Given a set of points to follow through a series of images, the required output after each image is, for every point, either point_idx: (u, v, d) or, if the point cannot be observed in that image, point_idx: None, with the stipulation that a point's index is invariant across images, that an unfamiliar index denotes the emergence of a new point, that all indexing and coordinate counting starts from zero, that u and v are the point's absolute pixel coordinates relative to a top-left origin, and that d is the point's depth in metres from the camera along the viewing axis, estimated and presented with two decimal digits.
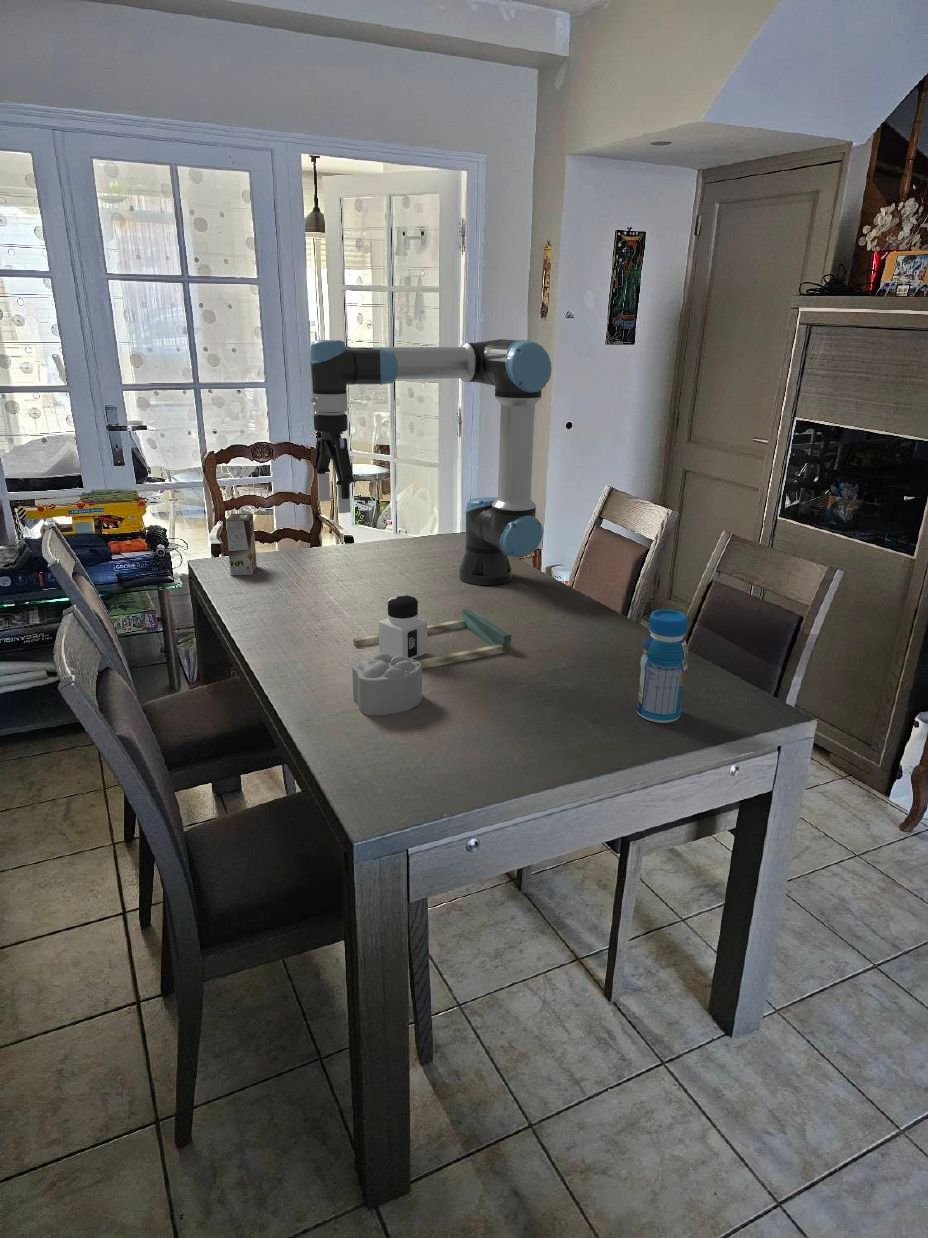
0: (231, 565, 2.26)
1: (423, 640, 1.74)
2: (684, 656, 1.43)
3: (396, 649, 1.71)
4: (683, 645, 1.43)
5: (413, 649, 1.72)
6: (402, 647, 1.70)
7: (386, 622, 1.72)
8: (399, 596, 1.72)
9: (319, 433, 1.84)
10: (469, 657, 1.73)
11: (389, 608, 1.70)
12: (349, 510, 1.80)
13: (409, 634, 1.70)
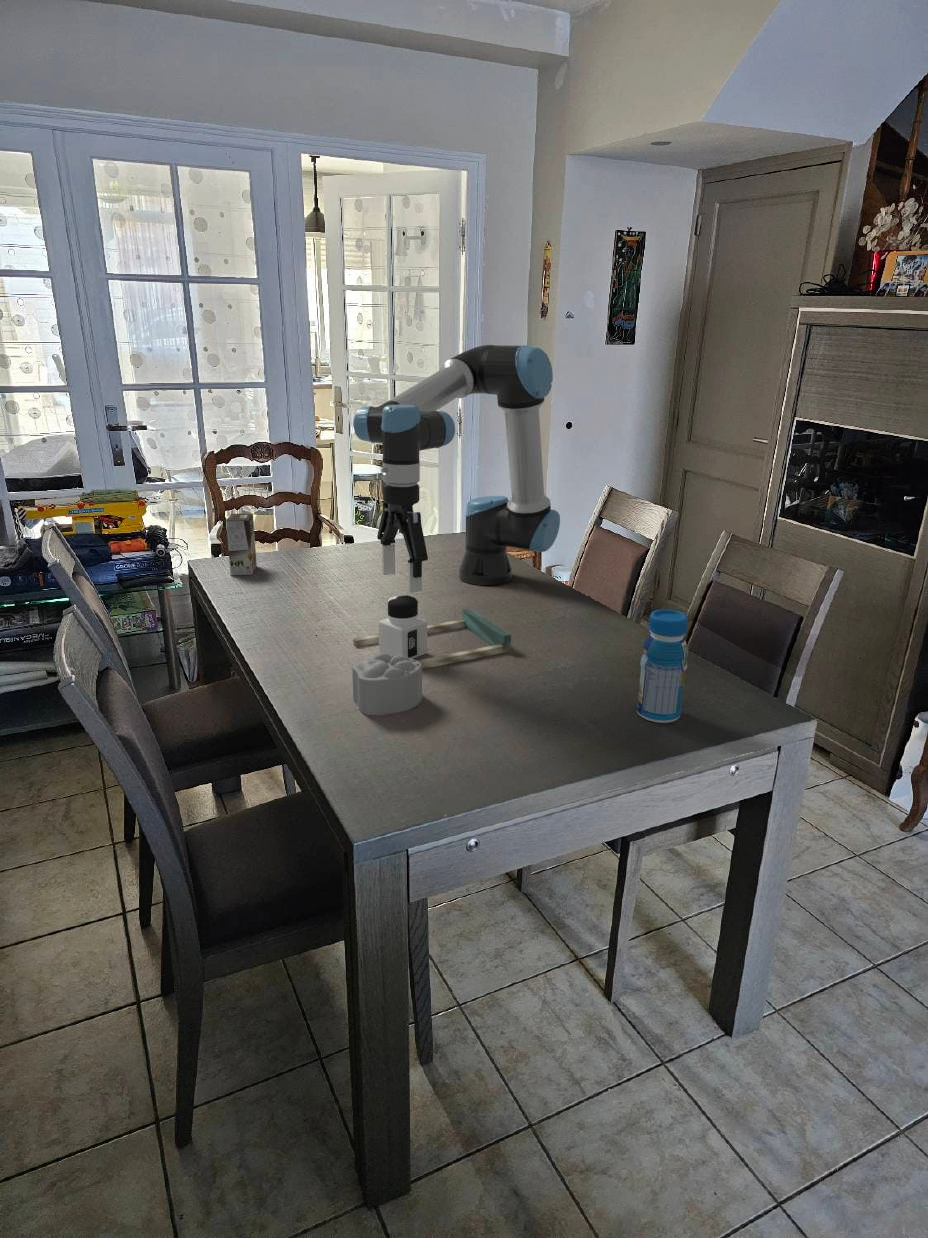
0: (231, 565, 2.26)
1: (423, 640, 1.74)
2: (684, 656, 1.43)
3: (396, 649, 1.71)
4: (683, 645, 1.43)
5: (413, 649, 1.72)
6: (402, 647, 1.70)
7: (386, 622, 1.72)
8: (399, 596, 1.72)
9: (386, 503, 1.69)
10: (469, 657, 1.73)
11: (389, 608, 1.70)
12: (420, 589, 1.64)
13: (409, 634, 1.70)
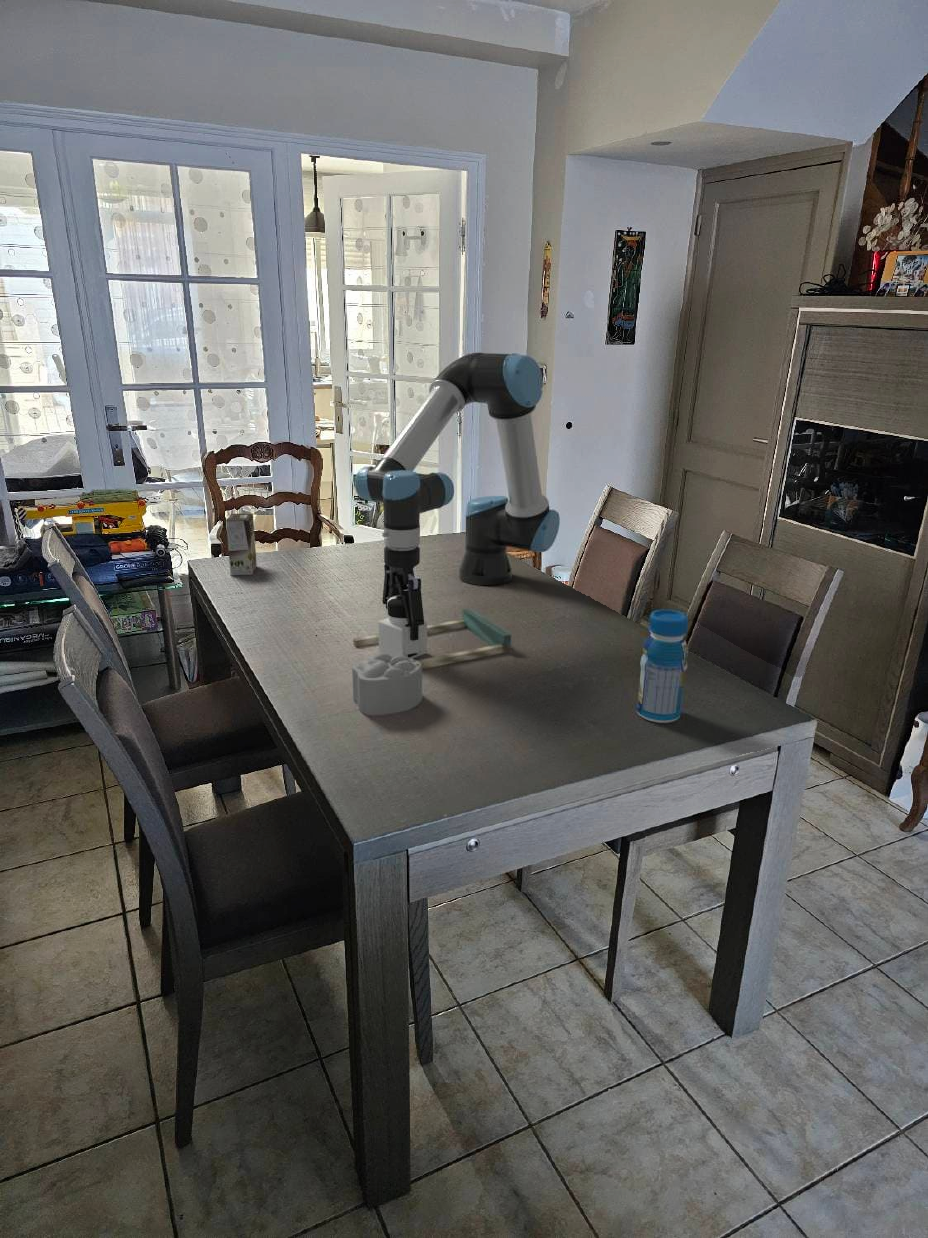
0: (231, 565, 2.26)
1: (423, 640, 1.74)
2: (684, 656, 1.43)
3: (396, 649, 1.71)
4: (683, 645, 1.43)
5: None
6: (402, 647, 1.70)
7: (386, 622, 1.72)
8: (399, 596, 1.72)
9: (387, 565, 1.74)
10: (469, 657, 1.73)
11: (389, 608, 1.70)
12: (417, 650, 1.71)
13: None
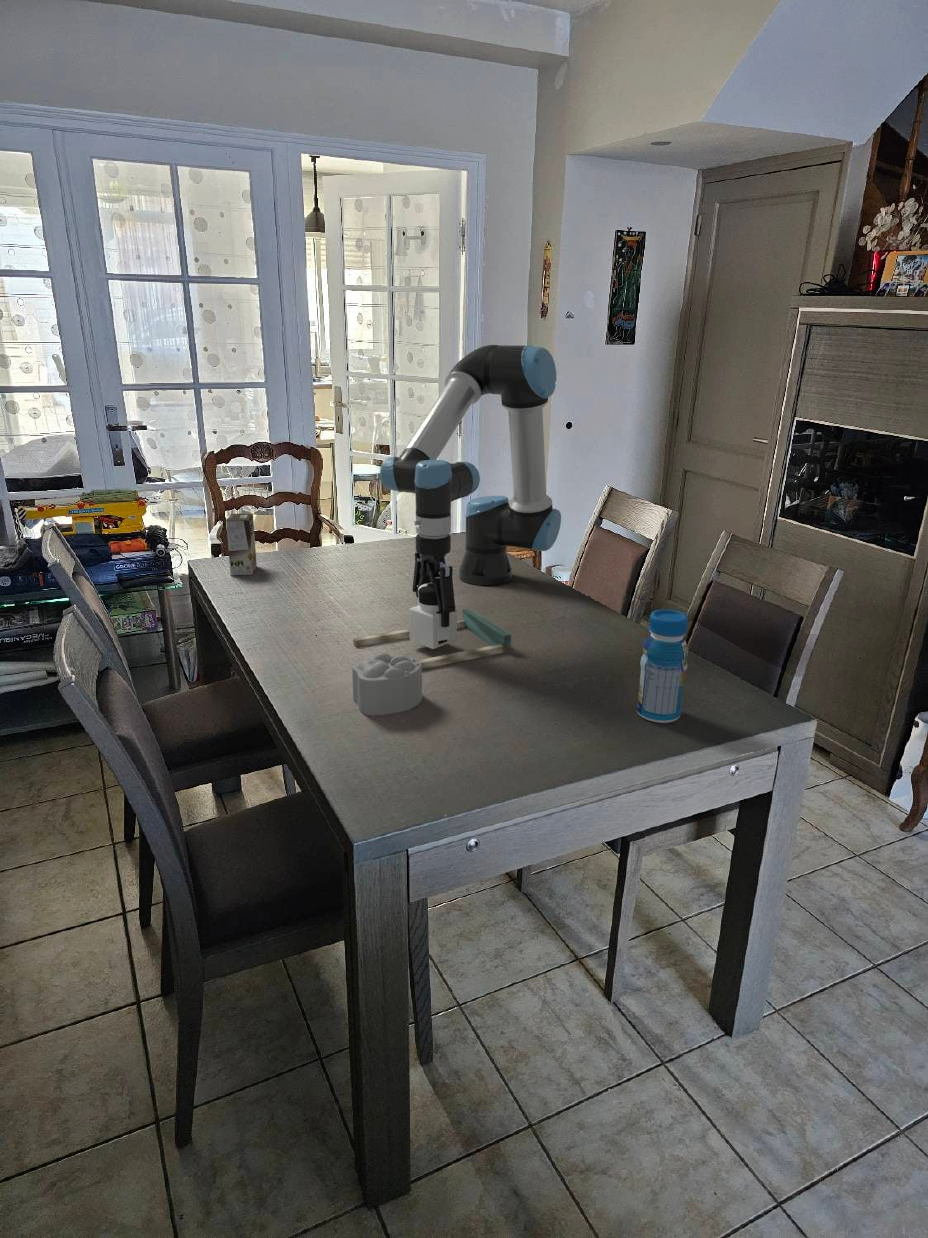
0: (231, 565, 2.26)
1: (453, 627, 1.77)
2: (684, 656, 1.43)
3: (427, 635, 1.74)
4: (683, 645, 1.43)
5: None
6: (433, 634, 1.73)
7: (416, 609, 1.75)
8: (430, 584, 1.75)
9: (418, 554, 1.77)
10: (469, 657, 1.73)
11: (420, 595, 1.73)
12: (448, 637, 1.74)
13: None
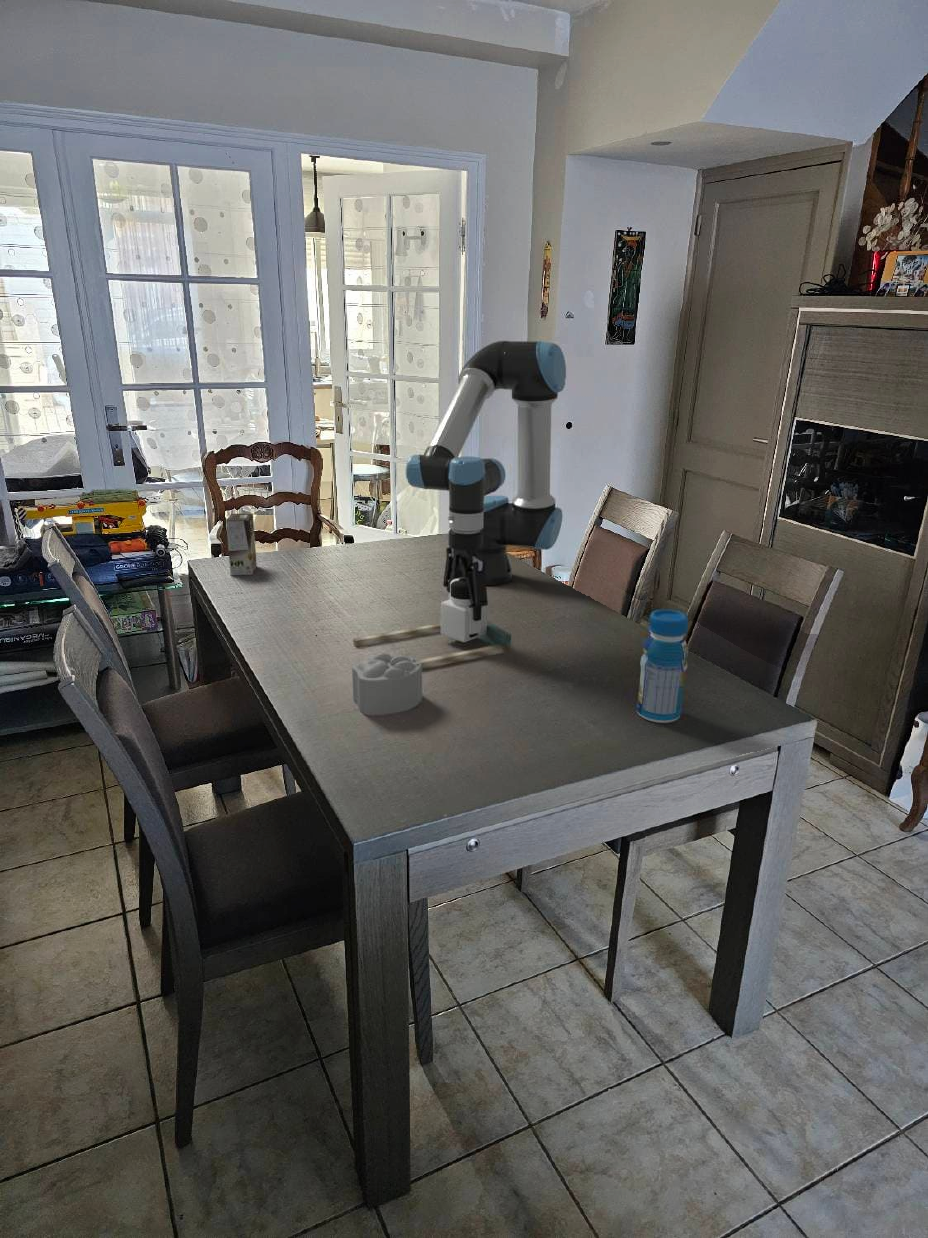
0: (231, 565, 2.26)
1: (483, 621, 1.80)
2: (684, 656, 1.43)
3: (458, 629, 1.77)
4: (683, 645, 1.43)
5: None
6: (465, 627, 1.76)
7: (448, 603, 1.79)
8: (461, 578, 1.79)
9: (449, 549, 1.80)
10: (469, 657, 1.73)
11: (452, 589, 1.77)
12: (479, 630, 1.78)
13: None
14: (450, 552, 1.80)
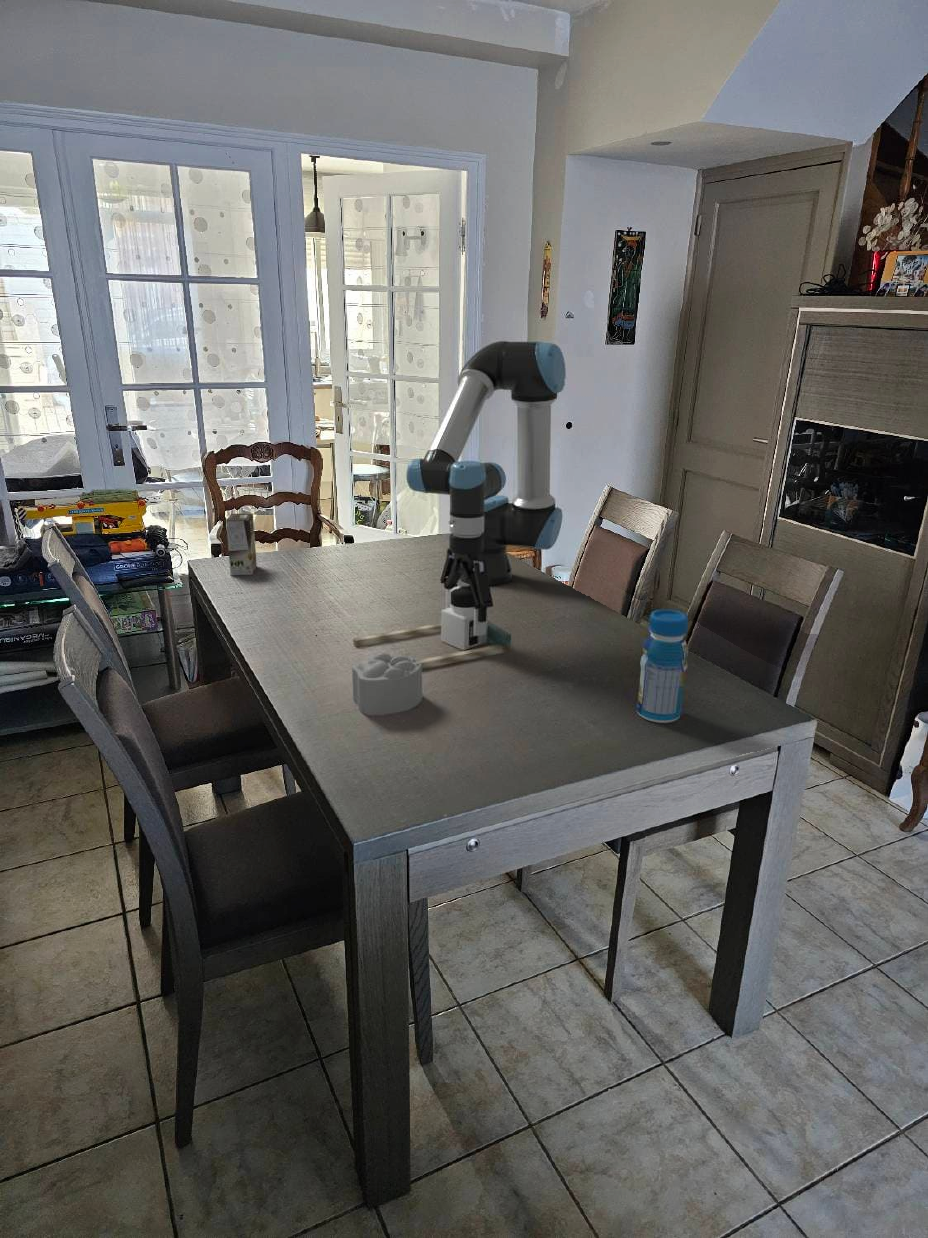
0: (231, 565, 2.26)
1: None
2: (684, 656, 1.43)
3: (458, 637, 1.78)
4: (683, 645, 1.43)
5: (474, 637, 1.79)
6: (464, 636, 1.77)
7: (448, 611, 1.79)
8: (462, 586, 1.79)
9: (450, 550, 1.80)
10: (469, 657, 1.73)
11: (452, 598, 1.77)
12: (484, 632, 1.76)
13: (471, 623, 1.77)
14: (451, 553, 1.80)
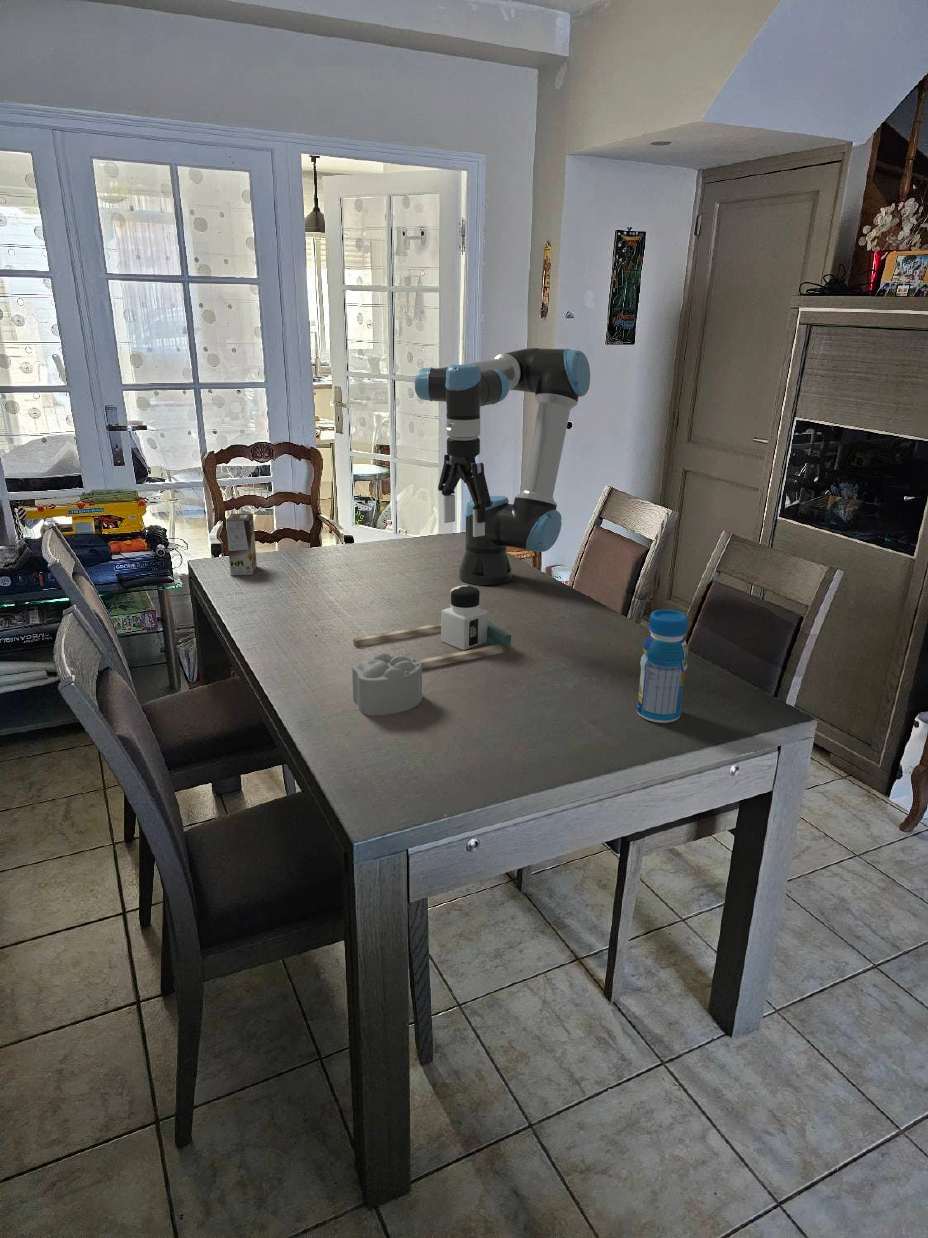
0: (231, 565, 2.26)
1: (484, 629, 1.81)
2: (684, 656, 1.43)
3: (458, 637, 1.78)
4: (683, 645, 1.43)
5: (474, 637, 1.79)
6: (464, 636, 1.77)
7: (448, 611, 1.79)
8: (462, 586, 1.79)
9: (447, 456, 1.85)
10: (469, 657, 1.73)
11: (452, 598, 1.77)
12: (483, 533, 1.82)
13: (471, 623, 1.77)
14: (448, 459, 1.85)
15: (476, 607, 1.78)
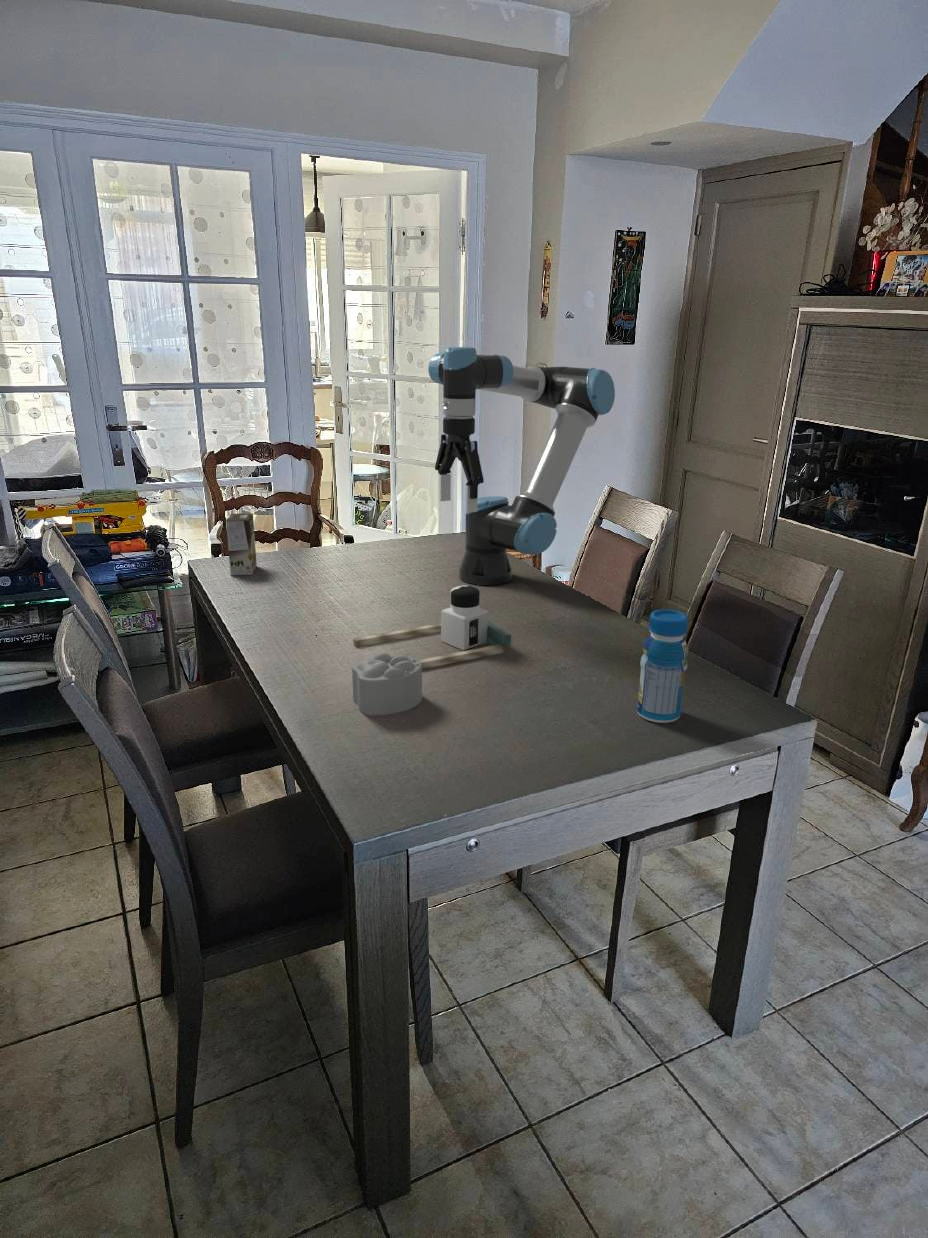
0: (231, 565, 2.26)
1: (484, 629, 1.81)
2: (684, 656, 1.43)
3: (458, 637, 1.78)
4: (683, 645, 1.43)
5: (474, 637, 1.79)
6: (464, 636, 1.77)
7: (448, 611, 1.79)
8: (462, 586, 1.79)
9: (444, 436, 1.93)
10: (469, 657, 1.73)
11: (452, 598, 1.77)
12: (476, 509, 1.88)
13: (471, 623, 1.77)
14: (444, 439, 1.93)
15: (476, 607, 1.78)
